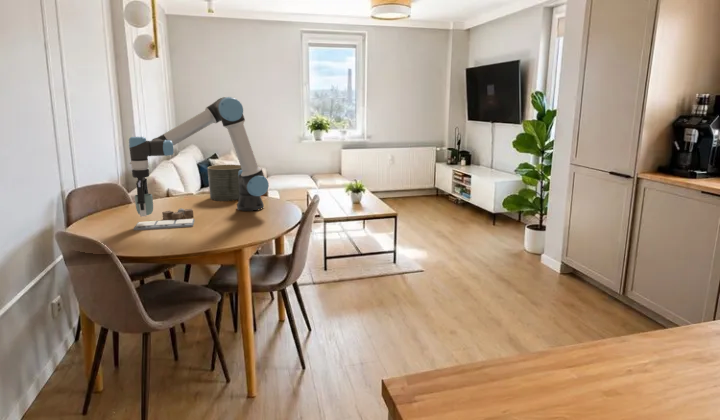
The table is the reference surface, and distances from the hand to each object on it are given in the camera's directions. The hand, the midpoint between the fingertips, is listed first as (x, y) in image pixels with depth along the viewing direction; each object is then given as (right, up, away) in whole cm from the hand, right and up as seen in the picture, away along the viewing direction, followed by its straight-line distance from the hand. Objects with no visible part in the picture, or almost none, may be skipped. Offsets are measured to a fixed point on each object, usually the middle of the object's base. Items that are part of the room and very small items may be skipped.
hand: (145, 214), depth 226 cm
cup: (0, 0, 0) cm, 1 cm away
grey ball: (+10, -1, +22) cm, 24 cm away
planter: (+22, +10, +67) cm, 71 cm away
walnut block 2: (+12, -3, +12) cm, 17 cm away
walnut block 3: (+15, -2, +19) cm, 24 cm away
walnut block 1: (+6, -3, +15) cm, 16 cm away
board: (+9, -6, +2) cm, 11 cm away
